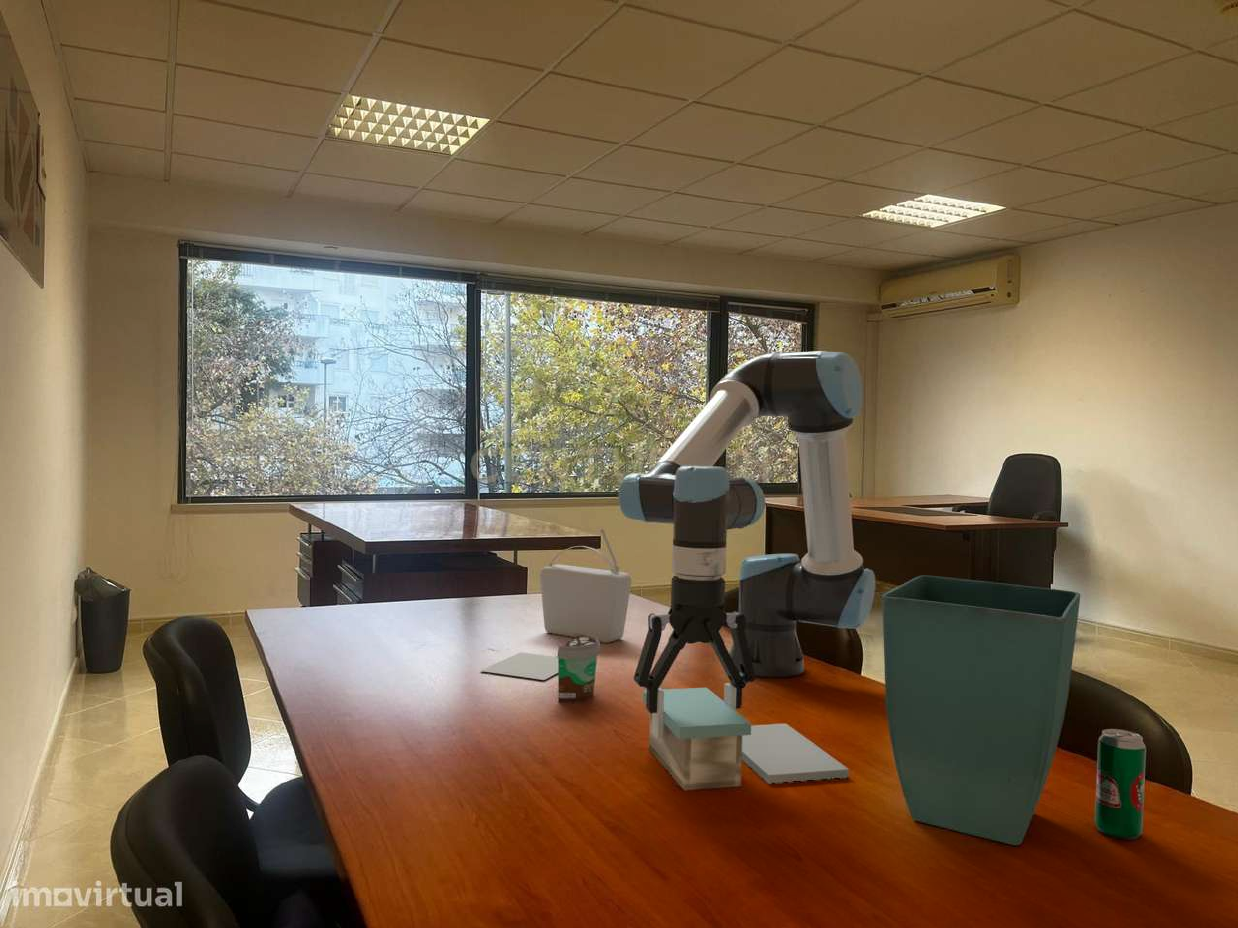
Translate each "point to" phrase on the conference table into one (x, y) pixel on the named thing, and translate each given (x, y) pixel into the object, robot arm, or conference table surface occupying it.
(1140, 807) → the soda can
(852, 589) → the robot arm
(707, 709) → the lid
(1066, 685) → the flower pot
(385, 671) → the conference table surface
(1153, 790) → the conference table surface
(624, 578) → the radio
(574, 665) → the food container
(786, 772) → the mat
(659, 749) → the box
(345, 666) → the conference table surface
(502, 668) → the paper stack
